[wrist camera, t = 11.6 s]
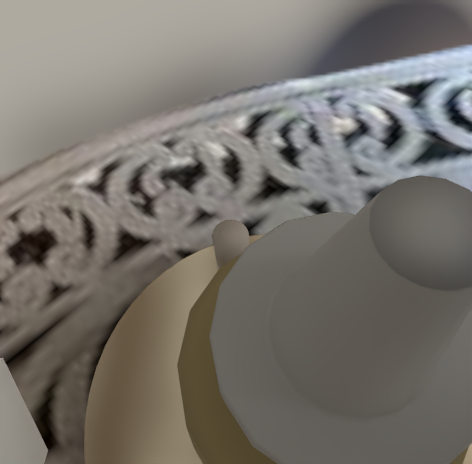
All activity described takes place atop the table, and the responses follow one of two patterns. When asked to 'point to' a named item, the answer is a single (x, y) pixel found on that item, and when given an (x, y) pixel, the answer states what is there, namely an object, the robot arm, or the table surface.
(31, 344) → the table surface
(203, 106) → the table surface
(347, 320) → the squeeze bottle
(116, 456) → the round beige plate
